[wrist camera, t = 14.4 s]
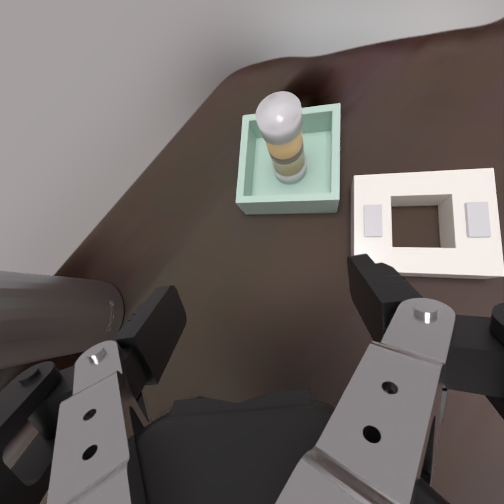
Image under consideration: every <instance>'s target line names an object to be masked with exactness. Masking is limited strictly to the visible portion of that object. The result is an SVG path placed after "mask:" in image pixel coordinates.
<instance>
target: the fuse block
mask: <svg viewBox="0 0 504 504" xmlns="http://www.w3.org/2000/svg"><path fill="white" fill-rule="evenodd" d="M436 205H438V216H439V232H440V248H410V247H392V224H391V207H394V206H436ZM365 253H366V254H368V256H369V257H370V258H371V259H372V260H373V261H374V262H375V263H381V262H382V263H385V264H387V265H389V266H392V267H393V268H394V269H395V270H396V271H397V272H398V273H399V274H400V275H401V276H416V277H440V278H465V279H489V278H496V277H504V264H503V254H502V245H501V235H500V226H499V216H498V206H497V197H496V187H495V178H494V168H484V169H466V170H448V171H430V172H411V173H393V174H375V175H357V176H354V178H353V182H352V185H351V256H354V255H360V254H365Z"/></svg>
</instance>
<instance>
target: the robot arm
mask: <svg viewBox="0 0 504 504" xmlns="http://www.w3.org/2000/svg"><path fill="white" fill-rule="evenodd" d="M347 263H348V274H349V285H350V292H351V297H352V300H353V302H354V304H355V306H356V308H357V310H358V312H359V314H360V316H361V318H362V320H363V321H364V323H365V325H366V327H367V329H368V331H369V333H370V335H371V337H372V339H373V341H372V342H371V343H370V345H369V346H368V348H367V350H366V352H365V354H364V356H363V358H362V360H361V361H360V363H359V365H358V367H357V369H356V371H355V373H354V375H353V376H352V378H351V380H350V382H349V384H348V386H347V388H346V390H345V391H344V393H343V395H342V397H341V399H340V401H339V403H338V405H337V406H336V407H333V406H331V405H329V404H326V403H322V402H319V401H313V400H311V395H310V390H309V388H305V389H294V390H284V391H274V392H271V393H268V394H265V395H262V396H259V397H256V398H253V399H250V400H247V401H244V402H241V403H232V402H226V401H221V400H215V399H209V398H199V399H188V400H178V401H174V404H173V407H172V409H171V412H170V414H167V415H165V416H163V417H161V418H159V419H157V420H155V421H154V422H152V419H151V416H150V412H149V408H148V405H147V401H146V397H145V395H144V393H143V391H142V389H143V387H144V385H153V384H158V382H159V380H160V378H161V376H162V374H163V372H164V369H165V367H166V365H167V363H168V361H169V359H170V357H171V355H172V353H173V351H174V348H175V346H176V344H177V342H178V340H179V338H180V336H181V334H182V332H183V330H184V327H185V325H186V313H185V310H184V307H183V305H182V302H181V300H180V297H179V294H178V292H177V289H176V288H175V287H174V286H167V287H161V288H157V289H156V290H155V291H154V292H153V294H152V295H151V296H150V297H149V299H148V300H147V301H146V302H144V303H143V304H142V305H140V306H139V307H138V308H137V310H136V311H135V312H134V313H133V316H131V317H130V318H129V319H128V322H126V323H125V324H124V325H123V327H122V328H121V329H120V327H121V324H122V320H123V314H124V306H123V300H122V297H121V295H120V293H119V291H118V290H117V289H116V287H115V286H114V285H112V284H111V283H109V282H106V281H101V280H91V279H80V278H71V277H61V276H50V275H39V274H29V273H18V272H8V271H0V369H3V368H8V367H12V366H17V365H22V364H27V363H31V362H36V361H41V360H45V359H50V358H55V357H60V356H64V355H69V354H74V353H79V352H84V351H85V352H84V353H83V354H82V355H81V356H80V357H79V358H78V360H77V361H76V363H75V365H74V366H71V367H68V368H66V369H63V370H60V371H59V370H58V369H57V367H56V366H55V364H54V363H53V362H51V361H46V362H42V363H39V364H37V365H34V366H32V367H30V368H29V369H27V370H25V371H24V372H22V373H21V374H19V375H18V376H17V377H16V378H15V379H13V380H12V381H11V382H10V383H9V384H8V385H7V386H6V387H5V388H4V389H3V390H2V391H1V392H0V504H39V503H40V502H41V500H42V498H43V497H44V495H45V493H46V492H47V490H48V489H49V491H48V498H47V504H450V503H448V502H447V501H446V500H445V499H444V498H443V497H442V496H441V495H439V494H438V493H437V492H436V491H435V490H434V489H433V488H432V482H433V476H434V470H435V464H436V457H437V449H438V443H439V437H440V432H441V427H442V422H443V416H444V411H445V406H446V401H447V395H448V390H449V389H452V390H458V391H464V392H470V393H475V394H481V395H485V396H486V397H487V399H488V400H489V401H490V402H491V404H492V405H493V406H494V408H495V409H496V410H497V411H498V413H499V414H500V415H501V417H502V418H503V419H504V303H501V304H498V305H496V306H495V307H494V308H493V309H492V315H491V317H476V316H462V315H456V314H455V313H454V311H453V310H452V309H451V308H450V307H449V306H447V305H446V304H444V303H442V302H439V301H436V300H432V299H427V298H423V297H422V296H421V295H420V294H419V293H418V292H417V291H416V290H415V289H414V288H413V287H412V286H411V285H410V284H409V283H408V282H407V281H405V279H404V278H403V277H402V276H401V275H400V274H399V273H398V272H397V271H396V270H395V269H394V268H393V267H392V266H389V265H387V264H385V263H382V262H381V263H375V262H374V261H373V260H372V259H371V258H370V257H369V256H368V254H366V253H365V254H360V255H354V256H348V258H347ZM119 329H120V330H119ZM118 331H119V332H118ZM27 419H28V420H29V421H30V422H31V424H32V425H33V426H34V427H35V428H36V430H37V431H38V432H39V433H38V434H37V436H36V437H35V438H34V440H33V441H32V442H31V444H30V445H29V446H28V448H27V449H26V450H25V451H24V453H23V454H22V455H21V457H20V458H19V459H18V461H17V462H16V463H15V465H14V466H13V467H12V469H11V470H10V469H9V468H8V467H7V466H6V465H5V464H4V462H3V459H2V455H3V451H4V448H5V446H6V445H7V443H8V442H9V440H10V439H11V438H12V437H13V436H14V435H15V433H16V432H17V431H18V430H19V429H20V427H21V426H22V425H23V424H24V423H25V421H26V420H27Z"/></svg>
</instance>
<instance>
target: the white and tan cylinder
mask: <svg viewBox="0 0 504 504" xmlns="http://www.w3.org/2000/svg"><path fill="white" fill-rule="evenodd" d="M256 121H257V124H258V127H259V130H260V133H261V135H262V137H263V139H264V140H265V142H266V145H267V148H268V152H269V154H270V157H271V160H272V166H273V170H274V173H275V175H276V178H277V179H278V180H279V181H280V182H281V183H283V184H287V185H291V184H295V183H298V182H299V181H301V180H302V179H303V178H304V176H305V174H306V171H307V163H306V156H305V154H304V145H303V137H302V124H303V121H302V110H301V103H300V101H299V99H298V98H297V97H296V96H295V95H294V94H292V93H289V92H283V91H282V92H276V93H273V94H270V95H269V96H267V97H266V98H264V99H263V100H262V101H261V103H260V104H259V106H258V108H257V110H256Z"/></svg>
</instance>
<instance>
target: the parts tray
mask: <svg viewBox="0 0 504 504" xmlns="http://www.w3.org/2000/svg"><path fill="white" fill-rule="evenodd" d="M301 110H302V121H303V124H302V137H303V145H304V154H305V156H306V163H307V171H306V174H305V176H304V178H303V179H302V180H301V181H299V182H298V183H295V184H291V185H287V184H283V183H281V182H280V181H279V180H278V179H277V178H276V175H275V173H274V170H273V166H272V160H271V157H270V154H269V152H268V148H267V145H266V142H265V140H264V139H263V137H262V135H261V133H260V130H259V127H258V124H257V121H256V114H251V115H243V122H242V134H241V146H240V158H239V170H238V181H237V193H236V204H237V205H238V206H239V207H240V209H241V210H242V211H243V212H244V213H245V214H246V215H249V214H301V213H337V210H338V204H339V193H340V103H338V104H330V105H322V106H314V107H306V108H301Z"/></svg>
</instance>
